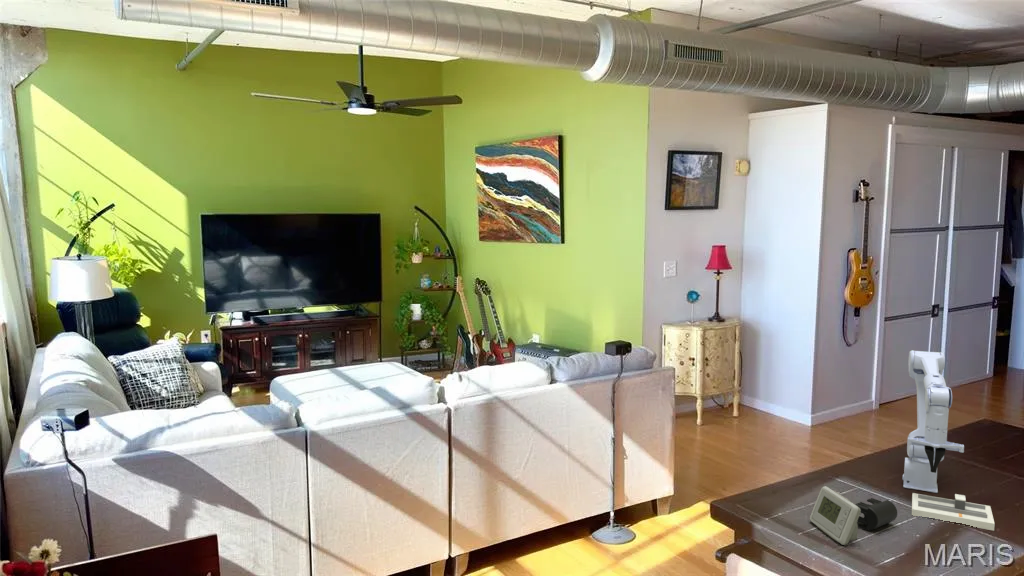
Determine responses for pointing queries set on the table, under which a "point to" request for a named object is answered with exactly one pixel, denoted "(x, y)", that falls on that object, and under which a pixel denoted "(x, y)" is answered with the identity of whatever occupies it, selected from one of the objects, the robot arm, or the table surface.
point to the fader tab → (959, 502)
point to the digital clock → (835, 516)
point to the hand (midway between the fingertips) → (933, 471)
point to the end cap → (876, 514)
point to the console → (952, 511)
